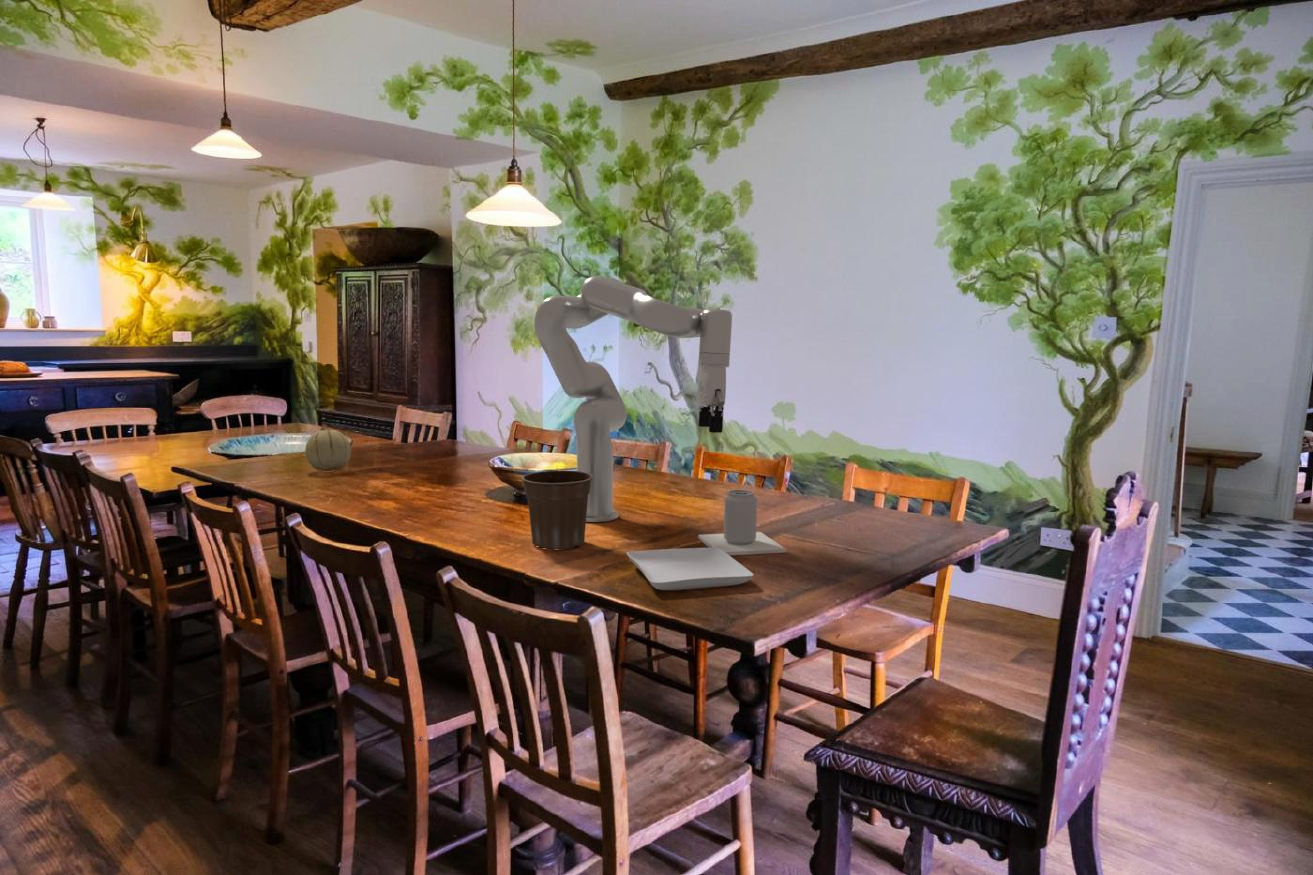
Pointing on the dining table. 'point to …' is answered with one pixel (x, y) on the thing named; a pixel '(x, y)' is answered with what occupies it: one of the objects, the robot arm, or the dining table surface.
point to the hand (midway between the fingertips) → (710, 429)
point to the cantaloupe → (328, 450)
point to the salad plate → (689, 568)
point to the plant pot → (557, 507)
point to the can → (740, 517)
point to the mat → (756, 547)
